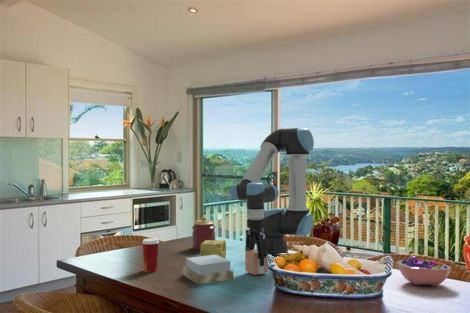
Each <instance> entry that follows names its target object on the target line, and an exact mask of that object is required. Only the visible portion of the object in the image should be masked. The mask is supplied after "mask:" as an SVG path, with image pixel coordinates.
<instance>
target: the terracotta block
mask: <svg viewBox="0 0 470 313" xmlns="http://www.w3.org/2000/svg"><path fill="white" fill-rule="evenodd" d="M244 253H245V254H244V257H245V258H244V259H245V260H244V264H245V267H244V268H245V269H244V270H245V272H246V273H249V274H251V275H253V276H254V275H259V274H258V257H259V256H258V251H257V248H254V249H252V250H245V251H244ZM268 269H269V268H268V256H267V257H266V258H264V273H263V274H266V273H269V272H268Z"/></svg>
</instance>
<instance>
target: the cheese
mask: <svg viewBox="0 0 470 313" xmlns="http://www.w3.org/2000/svg"><path fill="white" fill-rule="evenodd" d="M226 243H227V242H226V240H225V239H224V240H223V239H222V240H221V239H220V240H219V239H218V240H216V239H215V240H205V241H204V242H203V243H202V244H201V251H200V256H208V255H218V256H220V257H222V258H224V259H227V244H226Z"/></svg>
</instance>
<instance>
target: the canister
mask: <svg viewBox="0 0 470 313" xmlns="http://www.w3.org/2000/svg"><path fill="white" fill-rule="evenodd" d="M214 224H215V221H213V220H211V219H207V217H206V216H201V219H198V220H197V219H196V220H195V221H194V222H193V226H192V227H191V228H192V233H191V234H192V235H191V237H192V238H191V242H192V243H191V247H192V250H194V251H198V252H199V251H200V252H201V244H202V243H203V242H204V241H205V240H216V230H215V229H216V228H217V227H216V225H214Z"/></svg>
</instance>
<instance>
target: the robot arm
mask: <svg viewBox="0 0 470 313" xmlns="http://www.w3.org/2000/svg"><path fill="white" fill-rule="evenodd" d="M314 145H315V142H314V136H313V134H312V132H311V130H310V129H308V128H306V127H296V128H295V127H294V128H290V127H289V128H278V129H276V130H274V131H273V132H270V134H268V136H266V138H264V140H262V143H261V144H260V150H259V152H258V153H257V154H256V157H255V158H254V159H253V160H252V163H251V164H250V165H249V167H248V168H247V171H246V173H245V174H244V175H243V177H242V179H241V181H239V183H235V184H233V185H232V186H231V187H230V190H229V193H230V194H229V195H230V197H231V198H232V199H233V200H234V201H240V202H242V201H245V202H246V218H247V219H246V227H247V228H248V229H245V246H244V248H245V250H252V249H255V247H256V249H257V251H258V256H259V257H258V274H257V275H260V274H265V273H264V258H266V256H267V254H271V255H273V256H272V257H278V256H277V254H278V253H288V254H289V248H288V244H287V242H286V237H285V236H286V235H288V236H297V237H307V236H308V235H309V234H310V233H311V231H312V230H313V226H314V215H313V214H312V213H311V212H310V209H309V207H307V158H308V157H309V155H310V152H312V151H313V150H314ZM281 152H285V156H287V157H288V206H287V207H286V208H285V207H279V208H278V207H277V208H269V209H268V208H267V209H265V203H266V204H267V203H272V202H275V201H277V199H278V198H279V196H280V192H279V189H278V188H277V186H275V185H273V184H267V185H265V184H264V183H263V182H260V180H261V178H262V177H263V175H264V174H265V172H266V171H267V168H268V167H269V166H270V163H271V162H272V160H273V158H274V157H276V156H277V155H278V154H279V153H281ZM267 257H268V256H267Z"/></svg>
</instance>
